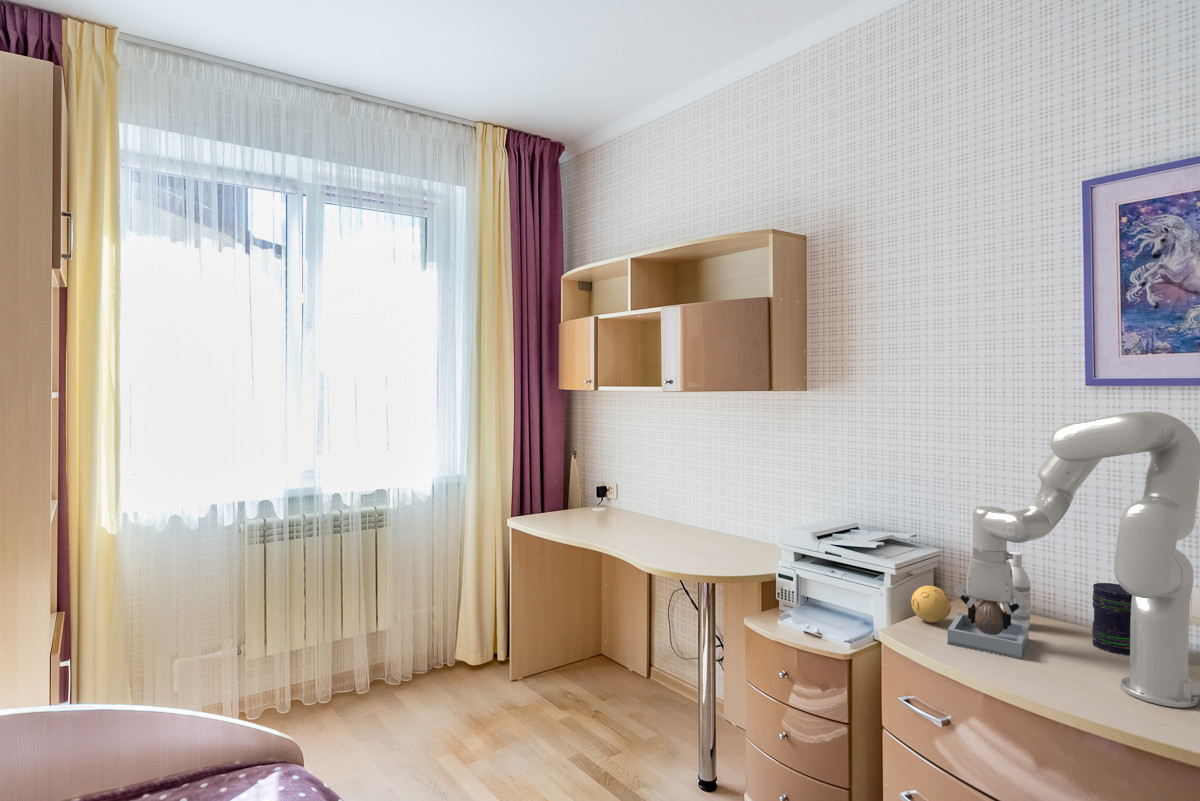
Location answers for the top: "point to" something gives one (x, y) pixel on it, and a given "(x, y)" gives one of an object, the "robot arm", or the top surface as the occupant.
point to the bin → (989, 637)
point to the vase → (989, 618)
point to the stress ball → (931, 604)
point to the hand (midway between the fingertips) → (989, 624)
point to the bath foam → (1020, 590)
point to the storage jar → (1111, 618)
